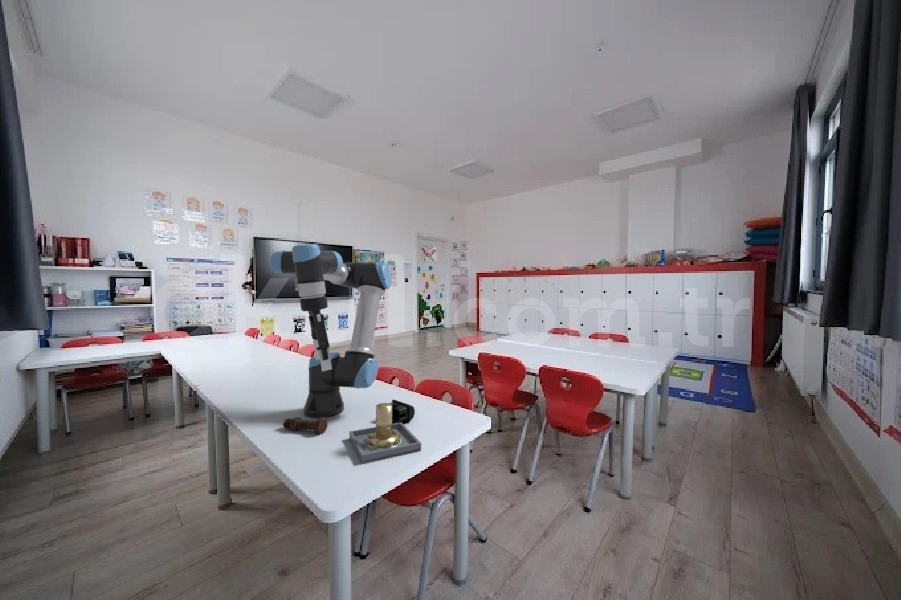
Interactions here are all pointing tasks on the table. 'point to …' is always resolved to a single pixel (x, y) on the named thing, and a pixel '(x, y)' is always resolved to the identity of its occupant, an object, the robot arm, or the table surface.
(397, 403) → the end cap
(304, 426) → the bolt
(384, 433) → the toothed flange peg
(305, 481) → the table surface
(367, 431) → the carrier tray
